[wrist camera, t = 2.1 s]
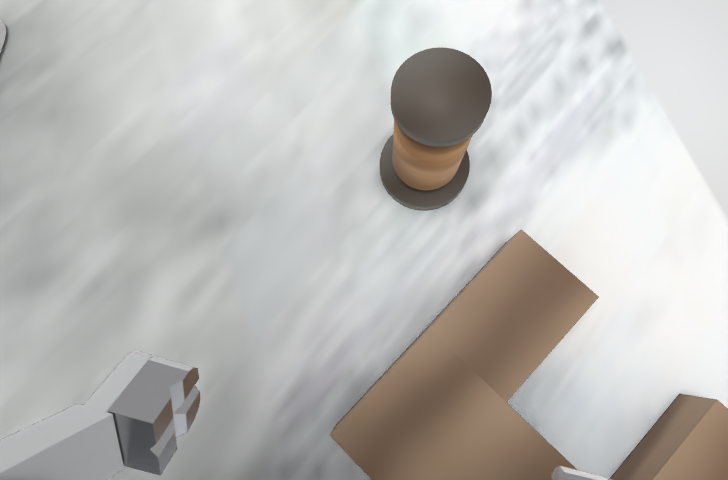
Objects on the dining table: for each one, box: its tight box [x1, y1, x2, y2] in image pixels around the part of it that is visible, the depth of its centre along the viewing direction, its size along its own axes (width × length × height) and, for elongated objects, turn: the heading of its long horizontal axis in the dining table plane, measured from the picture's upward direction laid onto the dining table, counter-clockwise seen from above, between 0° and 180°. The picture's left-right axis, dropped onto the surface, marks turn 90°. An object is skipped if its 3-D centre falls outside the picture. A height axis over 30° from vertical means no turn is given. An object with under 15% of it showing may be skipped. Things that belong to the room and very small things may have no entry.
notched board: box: [330, 230, 728, 480], centre depth 24 cm, size 17×14×3 cm
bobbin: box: [380, 48, 492, 210], centre depth 25 cm, size 5×5×9 cm
